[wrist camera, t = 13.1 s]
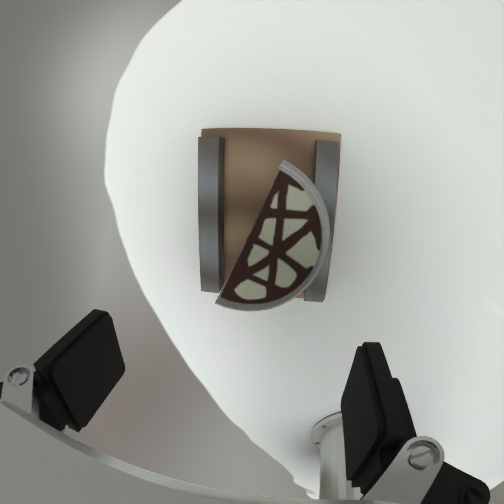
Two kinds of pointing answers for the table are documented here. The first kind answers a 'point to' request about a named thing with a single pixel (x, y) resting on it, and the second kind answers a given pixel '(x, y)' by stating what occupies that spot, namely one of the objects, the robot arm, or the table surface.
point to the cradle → (256, 191)
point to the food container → (280, 246)
